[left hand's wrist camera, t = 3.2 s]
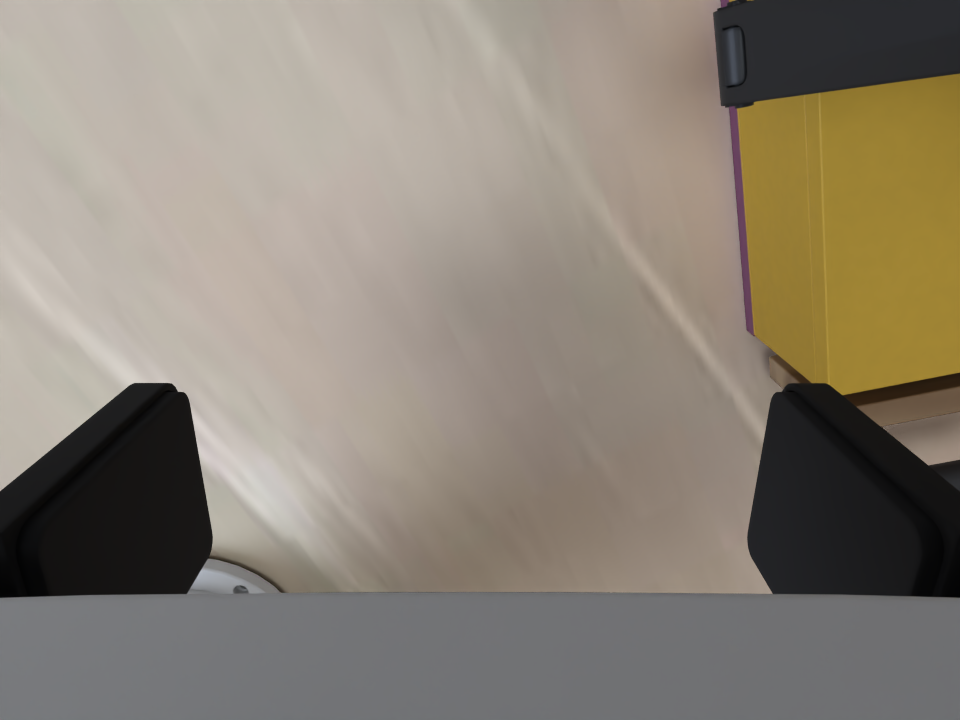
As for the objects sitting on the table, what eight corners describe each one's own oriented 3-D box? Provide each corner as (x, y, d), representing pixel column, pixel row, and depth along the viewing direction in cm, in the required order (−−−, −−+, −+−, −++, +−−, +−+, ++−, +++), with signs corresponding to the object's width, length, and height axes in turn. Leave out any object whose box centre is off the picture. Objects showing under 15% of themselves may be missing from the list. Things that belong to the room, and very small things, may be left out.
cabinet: (974, 283, 33) (1130, 340, 25) (746, 330, 34) (828, 399, 26) (996, -149, 27) (1213, -255, 19) (714, -79, 28) (810, -152, 20)
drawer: (970, 430, 35) (1072, 498, 29) (775, 466, 36) (836, 540, 30) (993, -45, 27) (1139, -88, 21) (745, 14, 28) (818, -11, 22)
